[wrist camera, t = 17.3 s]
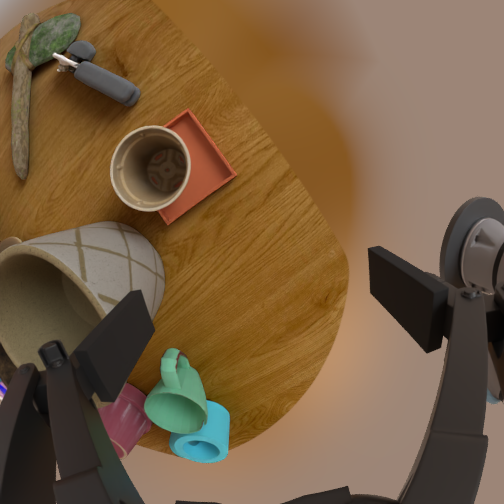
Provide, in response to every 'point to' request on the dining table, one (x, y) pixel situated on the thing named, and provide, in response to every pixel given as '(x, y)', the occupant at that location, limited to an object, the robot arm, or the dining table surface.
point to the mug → (177, 396)
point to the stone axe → (21, 65)
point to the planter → (72, 286)
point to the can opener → (97, 74)
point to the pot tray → (196, 166)
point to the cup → (205, 438)
